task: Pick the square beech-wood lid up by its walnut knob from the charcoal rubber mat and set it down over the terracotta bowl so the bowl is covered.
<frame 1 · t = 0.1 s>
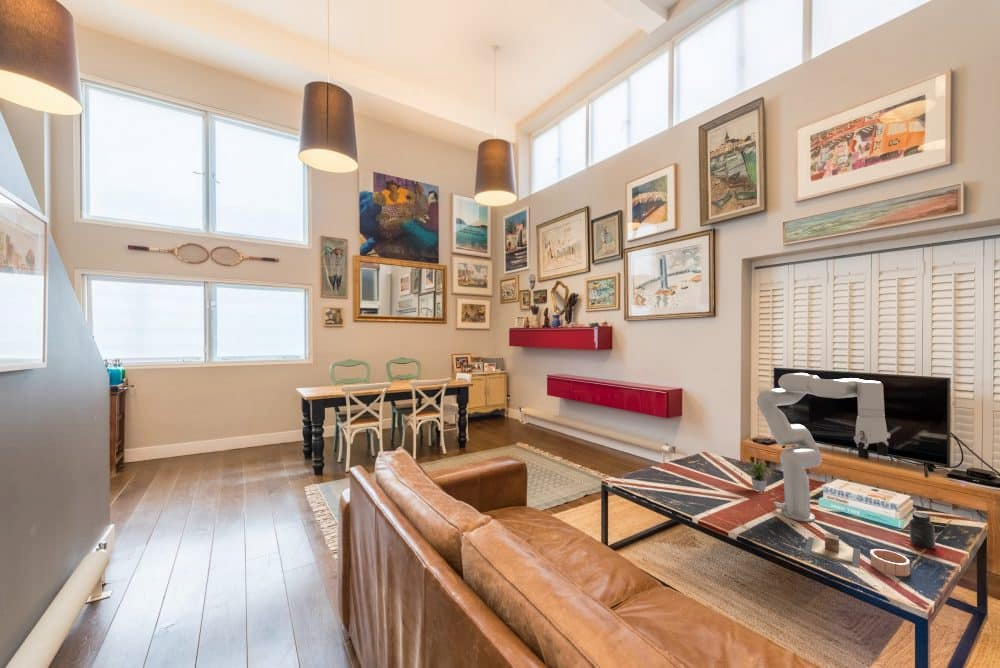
hand: (873, 456, 154), 37 cm above the table, tool pointing down, fingers open, 9 cm apart
house plant: (758, 489, 217), on the table
lid: (832, 551, 154), point 1 cm above the table, touching mat
bowl: (890, 570, 142), on the table
mat: (832, 553, 154), on the table
supplement bottle: (922, 545, 157), on the table
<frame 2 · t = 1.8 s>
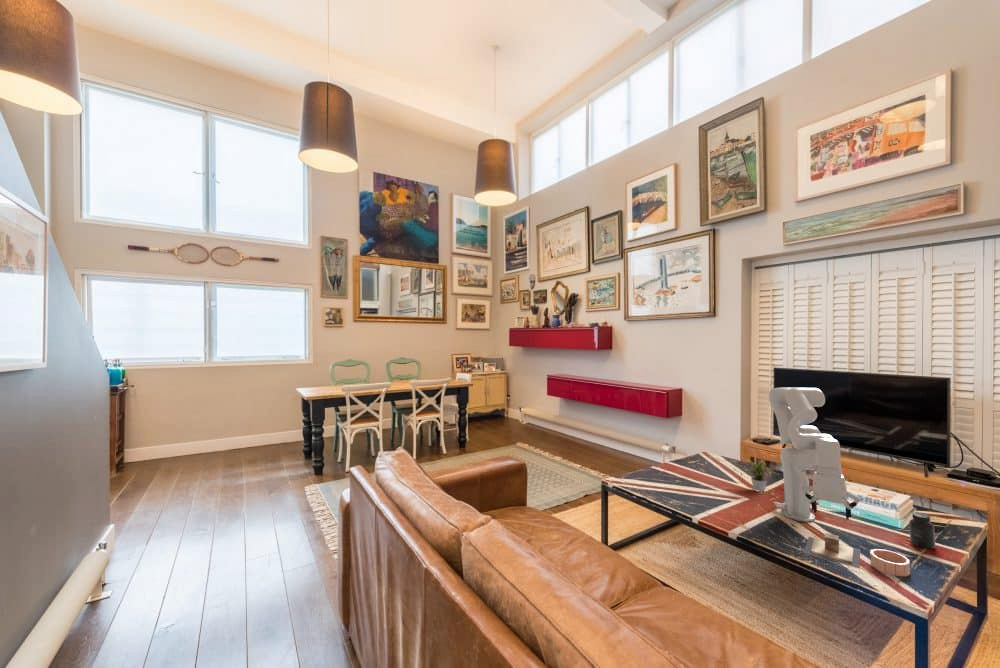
hand: (831, 515, 154), 15 cm above the table, tool pointing down, fingers open, 9 cm apart
nothing on the table moved.
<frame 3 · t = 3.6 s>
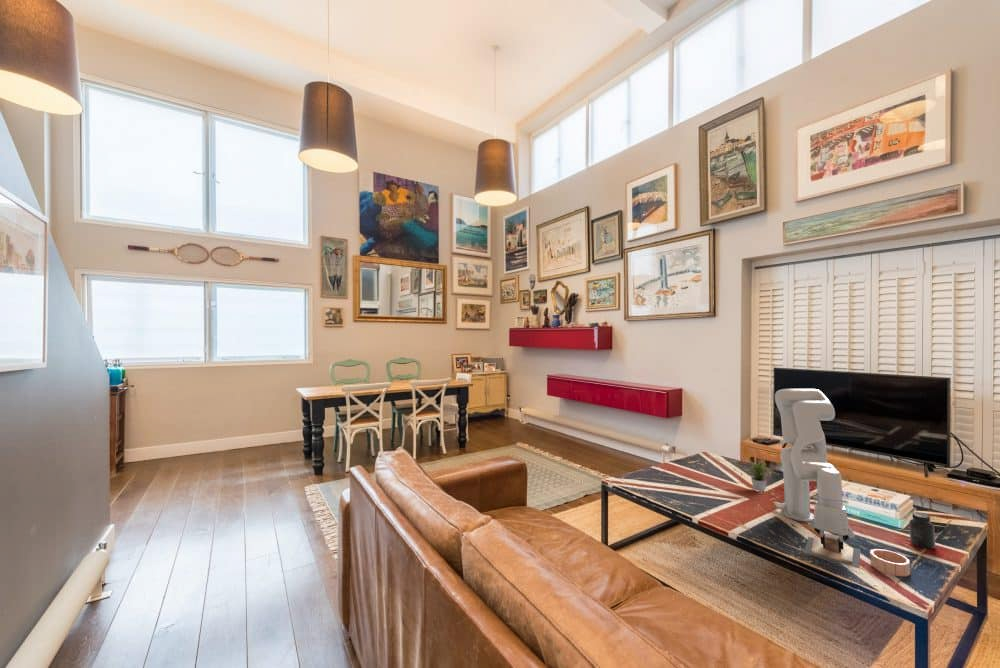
hand: (832, 547, 154), 2 cm above the table, tool pointing down, fingers closed on lid, 4 cm apart
lid: (832, 551, 154), point 1 cm above the table, touching gripper, mat
everything else where it was.
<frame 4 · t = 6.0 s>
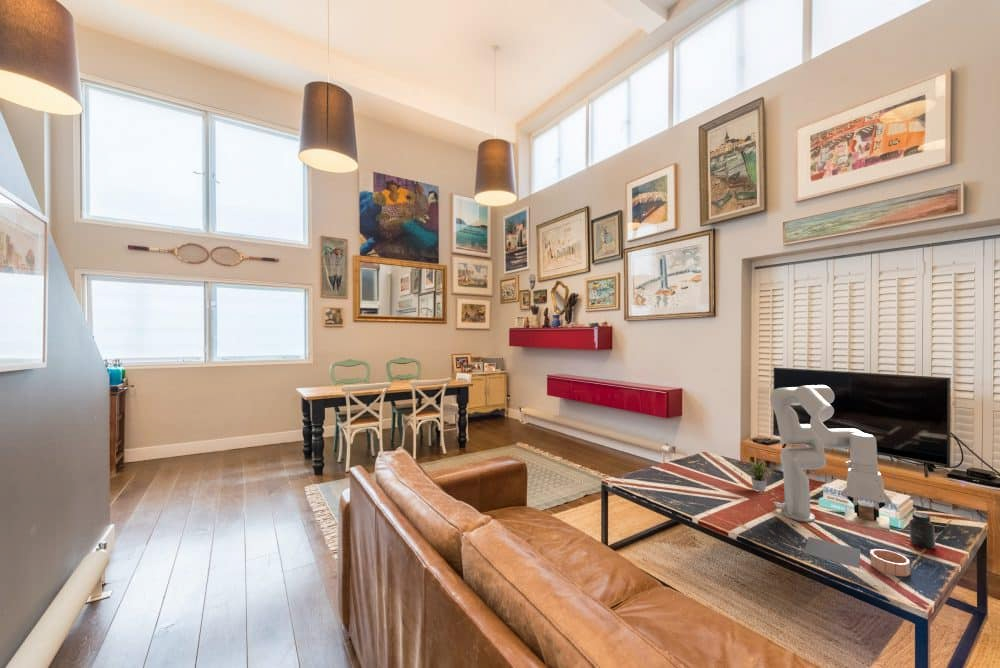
hand: (866, 516, 146), 18 cm above the table, tool pointing down, fingers closed on lid, 4 cm apart
lid: (866, 520, 146), point 16 cm above the table, touching gripper
everything else where it was.
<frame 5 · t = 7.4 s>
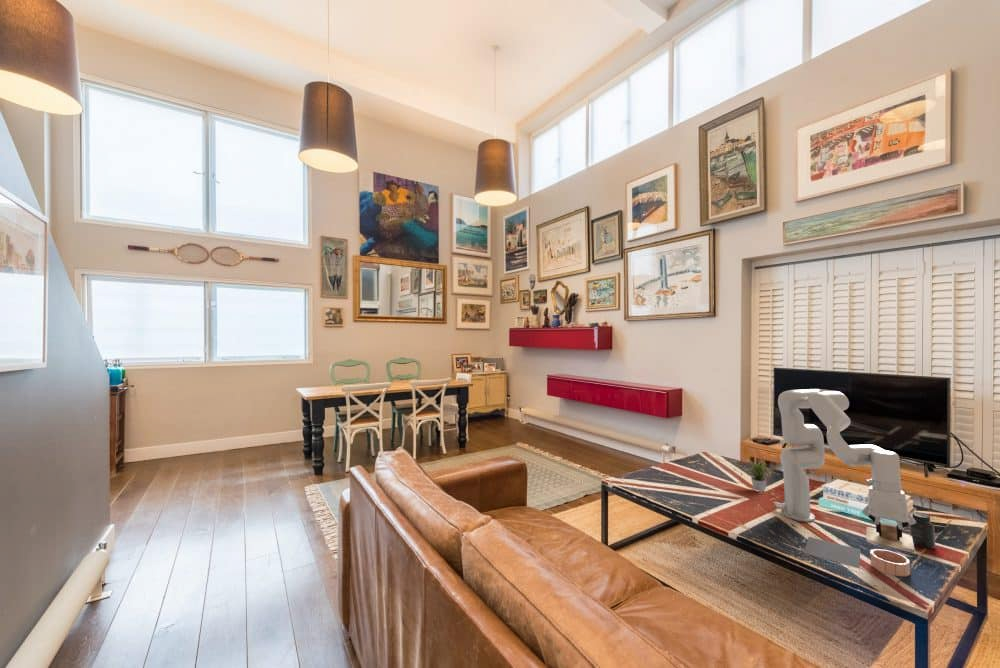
hand: (889, 536, 142), 12 cm above the table, tool pointing down, fingers closed on lid, 4 cm apart
lid: (889, 539, 142), point 11 cm above the table, touching gripper
everything else where it was.
when the fingers open (8 cm above the table, at t = 8.5 s): lid drops 1 cm, resting on bowl.
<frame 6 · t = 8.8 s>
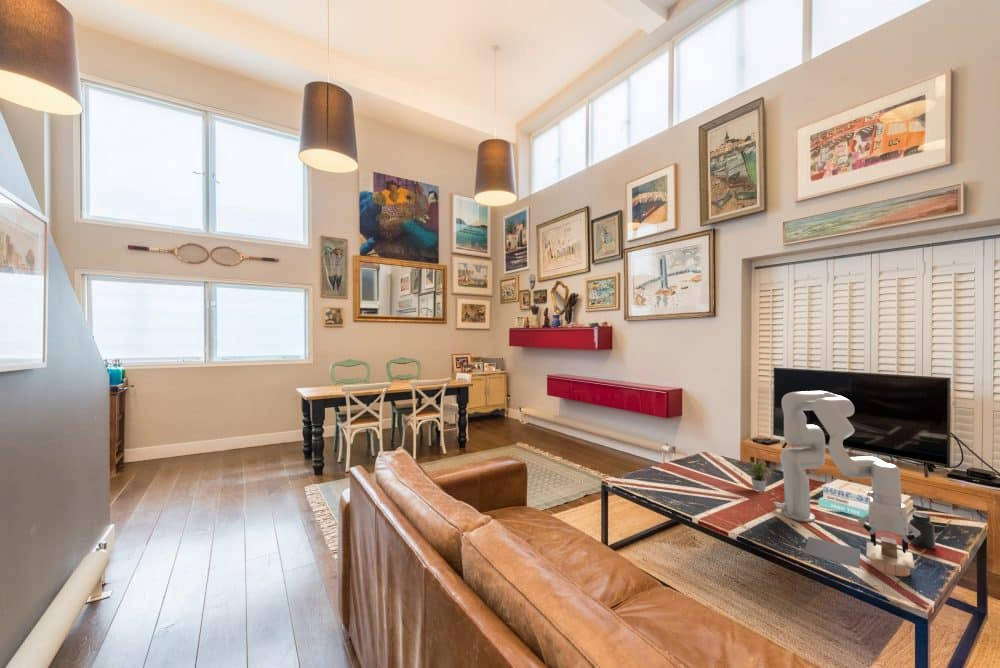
hand: (889, 547, 142), 8 cm above the table, tool pointing down, fingers open, 7 cm apart
lid: (889, 556, 142), point 5 cm above the table, touching bowl
everything else where it was.
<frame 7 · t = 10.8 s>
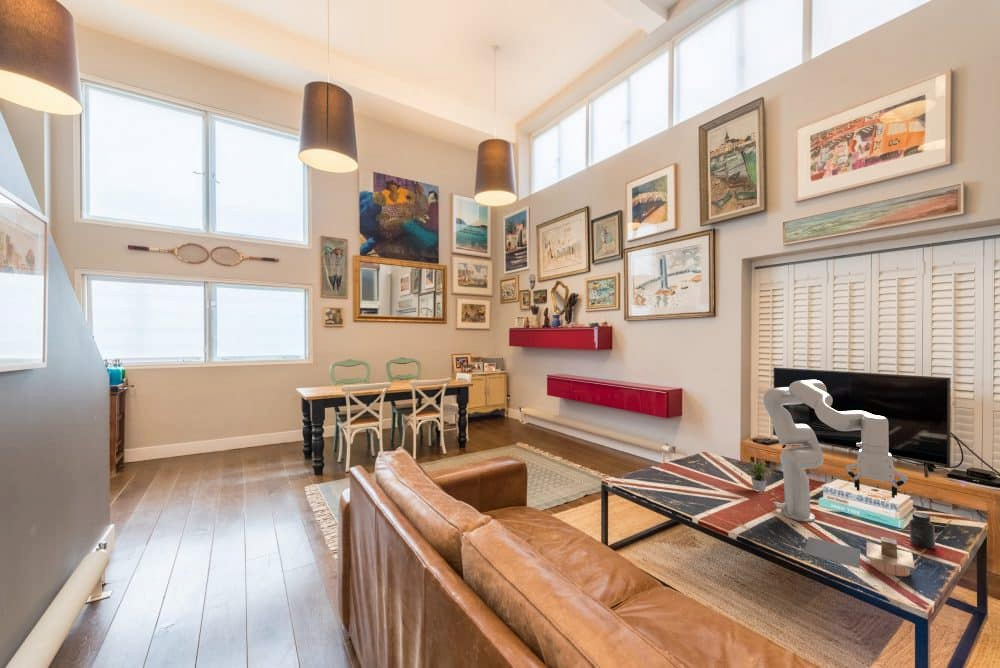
hand: (875, 493, 150), 25 cm above the table, tool pointing down, fingers open, 9 cm apart
nothing on the table moved.
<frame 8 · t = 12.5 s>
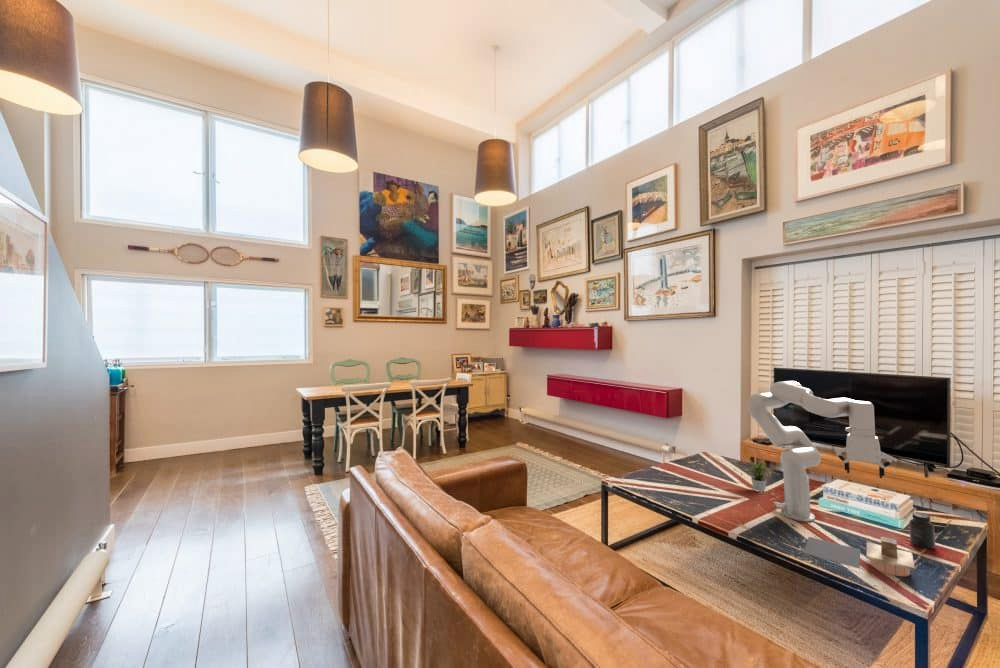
hand: (864, 474, 159), 28 cm above the table, tool pointing down, fingers open, 9 cm apart
nothing on the table moved.
at the end: lid 0.0 cm off-centre on the bowl, point 5.0 cm above the bowl's base; lid tilted 0°; the gripper is holding nothing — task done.
